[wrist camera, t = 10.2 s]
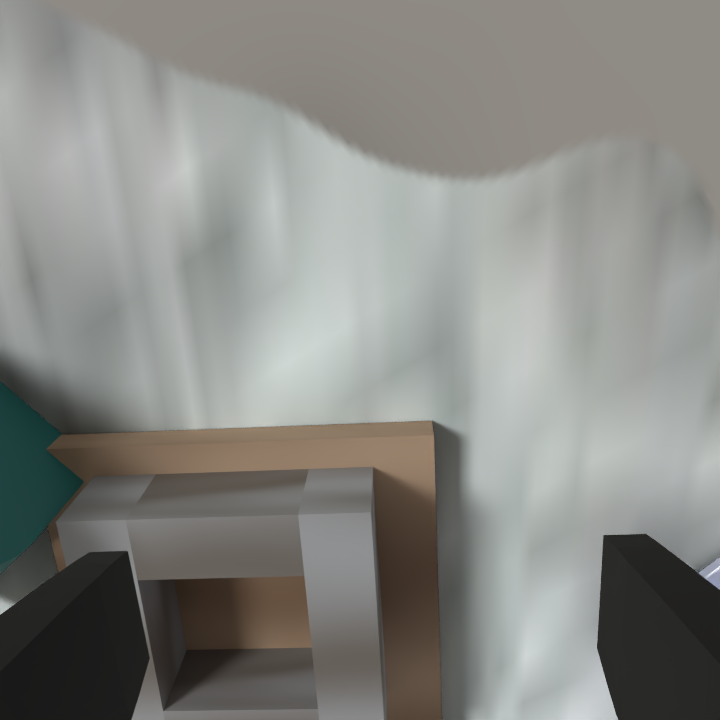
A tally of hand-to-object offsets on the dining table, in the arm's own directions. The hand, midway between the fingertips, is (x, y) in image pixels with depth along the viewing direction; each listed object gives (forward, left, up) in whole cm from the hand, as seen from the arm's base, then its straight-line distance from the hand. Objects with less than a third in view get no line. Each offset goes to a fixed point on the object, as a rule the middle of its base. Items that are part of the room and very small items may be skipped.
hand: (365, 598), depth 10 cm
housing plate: (-6, +12, -10) cm, 17 cm away
